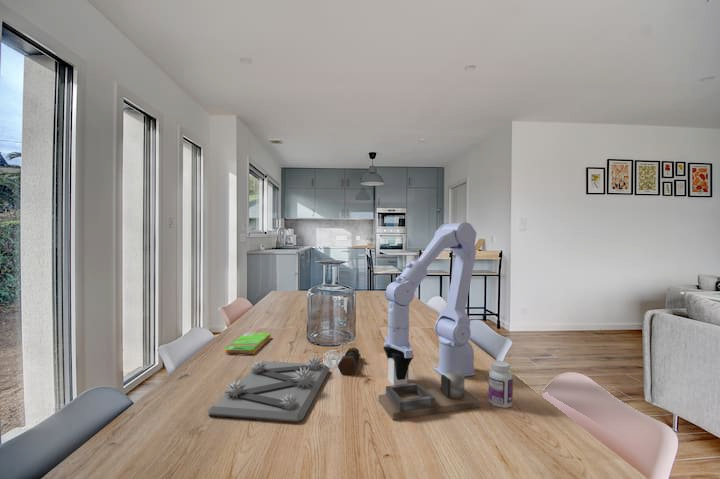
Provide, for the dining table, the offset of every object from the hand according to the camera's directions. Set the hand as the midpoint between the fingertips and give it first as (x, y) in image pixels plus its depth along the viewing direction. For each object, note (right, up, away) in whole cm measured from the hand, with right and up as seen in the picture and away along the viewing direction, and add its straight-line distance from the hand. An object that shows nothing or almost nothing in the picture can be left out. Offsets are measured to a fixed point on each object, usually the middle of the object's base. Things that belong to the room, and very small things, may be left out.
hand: (397, 375), depth 96 cm
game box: (-50, -2, +30) cm, 58 cm away
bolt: (-13, -2, +12) cm, 18 cm away
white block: (0, -2, 0) cm, 2 cm away
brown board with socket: (+6, -2, -13) cm, 14 cm away
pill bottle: (+23, -2, -12) cm, 26 cm away
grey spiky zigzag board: (-32, -2, -6) cm, 32 cm away
